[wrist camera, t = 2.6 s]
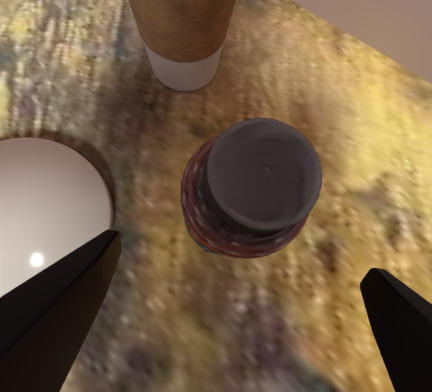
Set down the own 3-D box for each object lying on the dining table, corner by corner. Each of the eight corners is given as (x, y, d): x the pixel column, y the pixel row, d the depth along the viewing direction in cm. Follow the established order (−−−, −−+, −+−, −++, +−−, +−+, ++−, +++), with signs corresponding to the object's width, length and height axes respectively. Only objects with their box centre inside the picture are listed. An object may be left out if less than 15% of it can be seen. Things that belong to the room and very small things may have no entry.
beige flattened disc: (24, 352, 16) (10, 360, 15) (-109, 238, 16) (-132, 237, 15) (147, 207, 19) (144, 204, 17) (29, 115, 19) (19, 107, 18)
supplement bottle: (175, 192, 19) (153, 109, 8) (245, 171, 20) (310, 72, 9) (198, 267, 18) (209, 289, 7) (271, 241, 19) (381, 225, 8)
